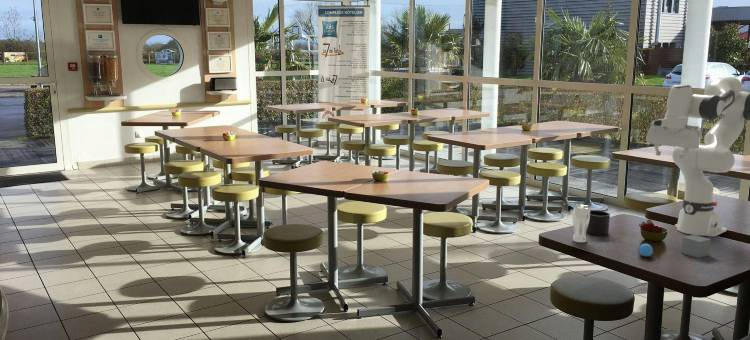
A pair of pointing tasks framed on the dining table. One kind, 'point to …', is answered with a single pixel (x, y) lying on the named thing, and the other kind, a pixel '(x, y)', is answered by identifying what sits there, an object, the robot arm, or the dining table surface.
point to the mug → (598, 223)
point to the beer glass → (580, 223)
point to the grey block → (696, 246)
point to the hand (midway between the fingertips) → (669, 157)
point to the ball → (645, 250)
